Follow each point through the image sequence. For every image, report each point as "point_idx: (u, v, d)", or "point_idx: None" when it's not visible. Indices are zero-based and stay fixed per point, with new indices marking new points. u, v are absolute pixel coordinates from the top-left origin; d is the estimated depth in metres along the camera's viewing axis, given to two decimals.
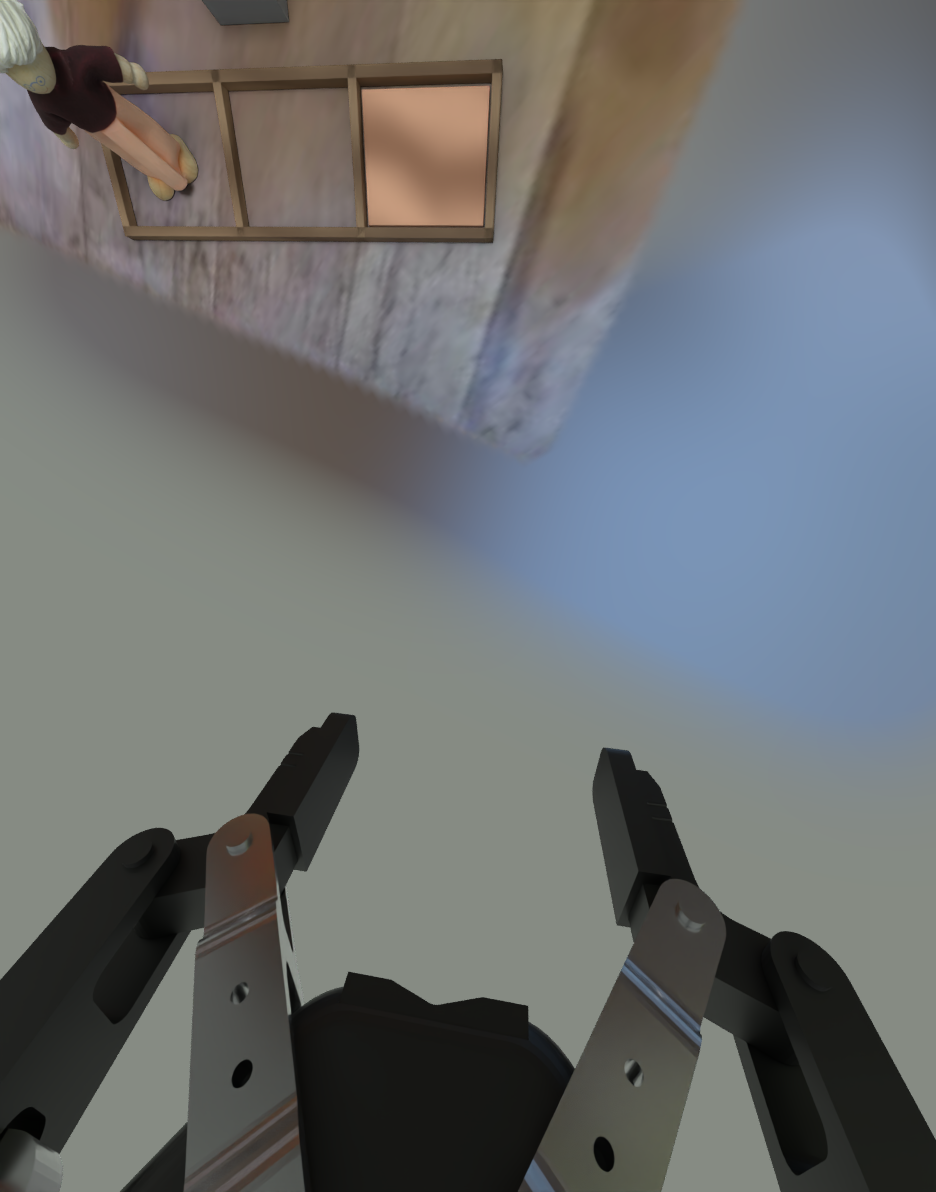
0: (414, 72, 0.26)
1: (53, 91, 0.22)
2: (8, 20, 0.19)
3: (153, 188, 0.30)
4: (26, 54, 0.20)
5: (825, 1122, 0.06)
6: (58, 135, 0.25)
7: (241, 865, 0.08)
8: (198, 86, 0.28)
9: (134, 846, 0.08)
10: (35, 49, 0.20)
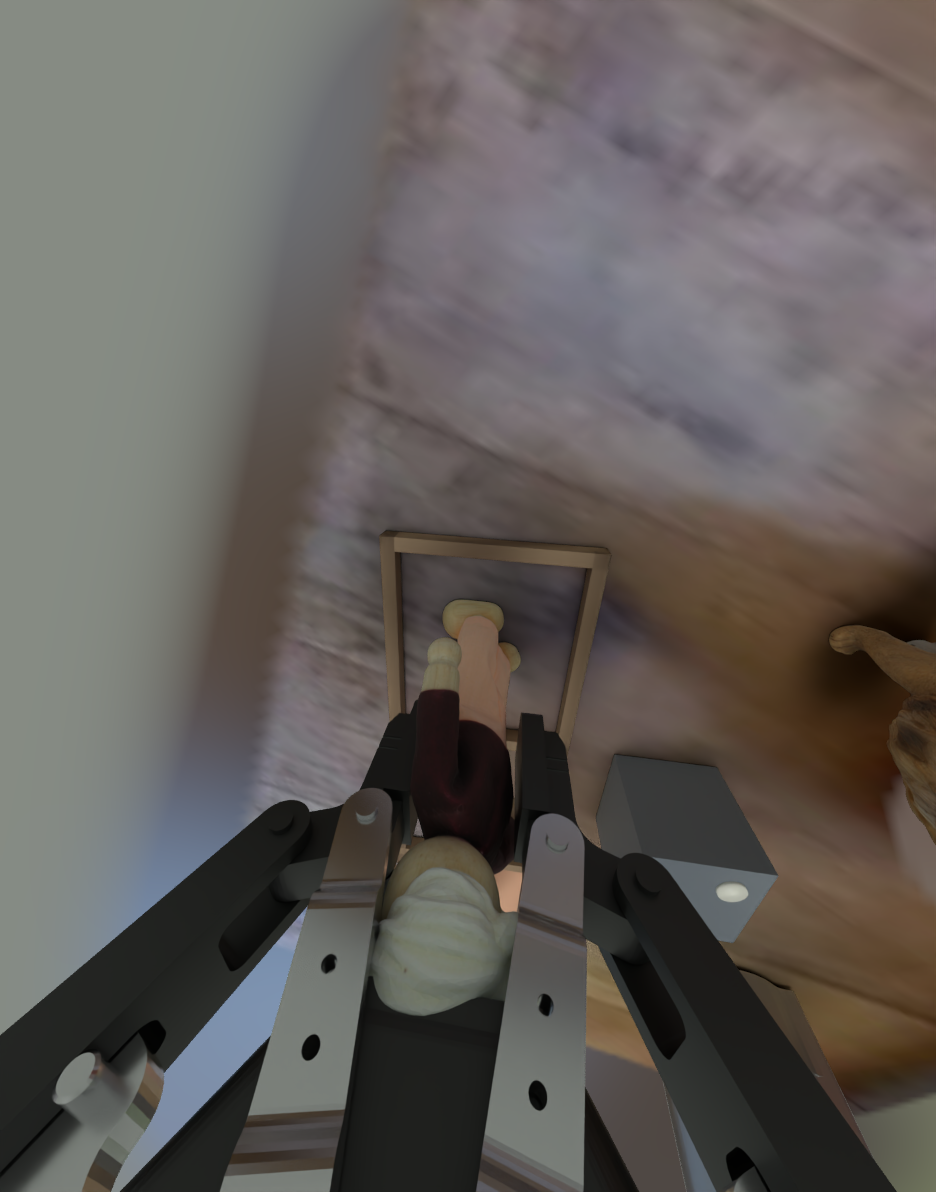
0: None
1: (426, 838, 0.10)
2: None
3: (450, 619, 0.16)
4: None
5: (679, 1008, 0.07)
6: (422, 686, 0.11)
7: (362, 836, 0.09)
8: (560, 722, 0.18)
9: (280, 813, 0.09)
10: None
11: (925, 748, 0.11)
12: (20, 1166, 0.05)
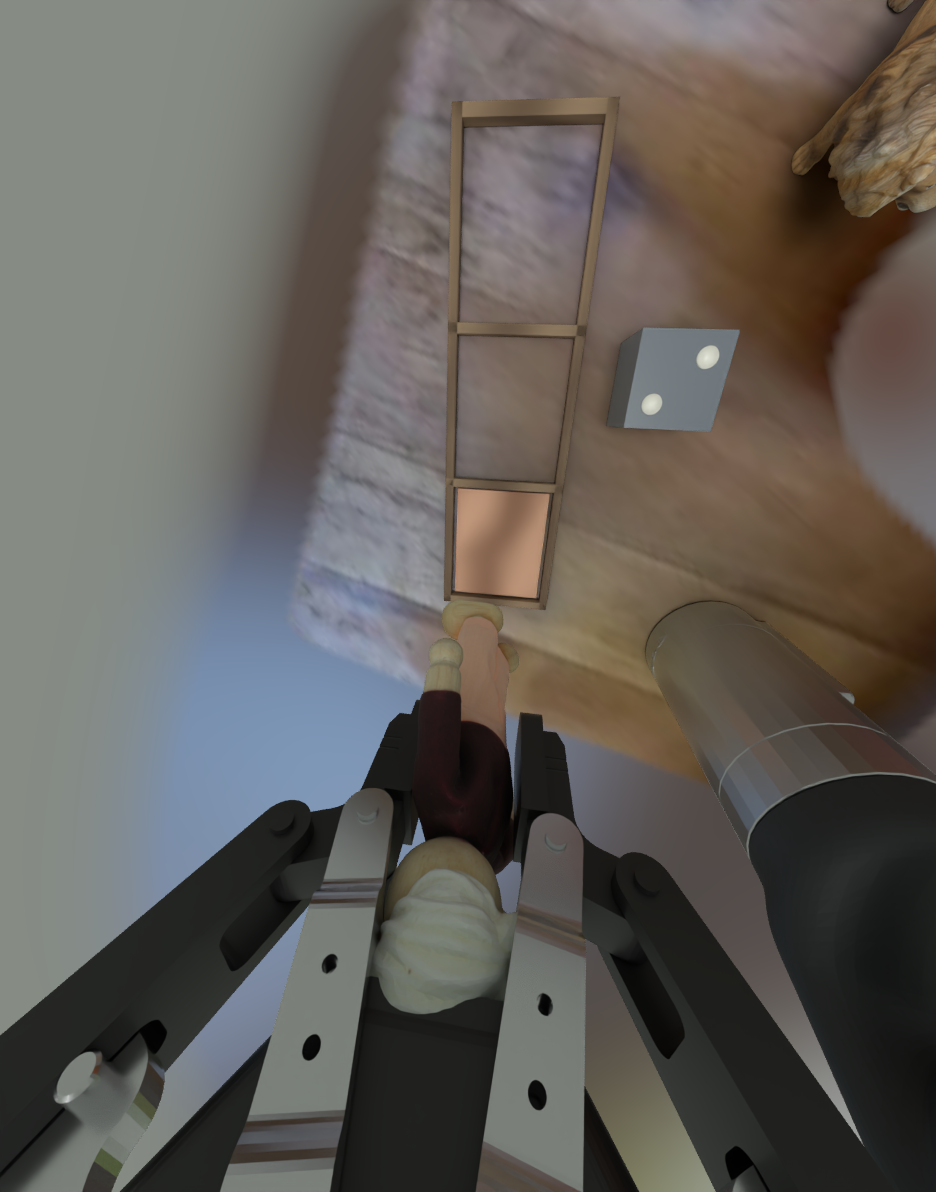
0: (549, 545, 0.31)
1: (427, 839, 0.10)
2: None
3: (449, 619, 0.16)
4: None
5: (678, 1008, 0.07)
6: None
7: (362, 836, 0.09)
8: (580, 300, 0.24)
9: (281, 813, 0.09)
10: None
11: (847, 121, 0.17)
12: (21, 1165, 0.05)
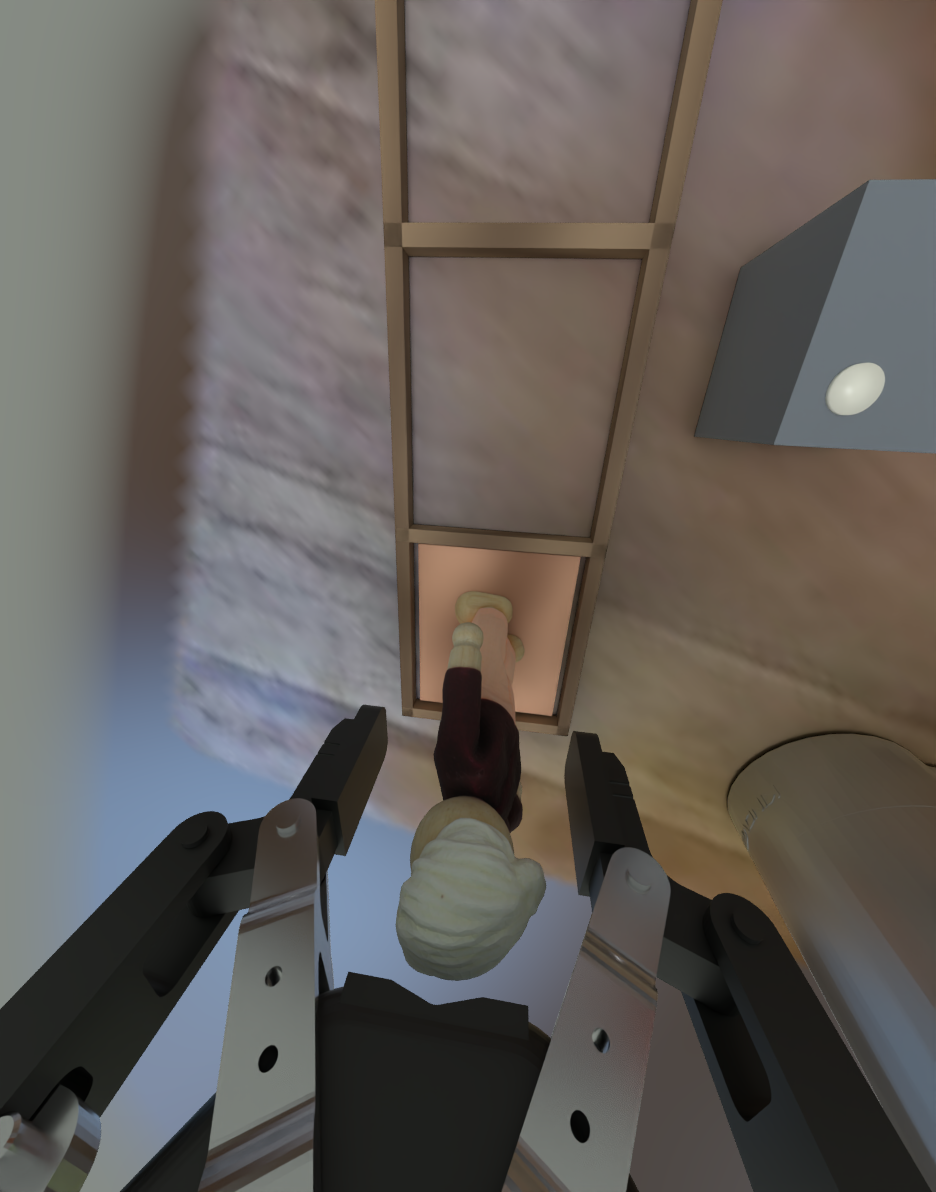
0: (577, 641, 0.18)
1: (446, 799, 0.11)
2: None
3: (463, 608, 0.17)
4: None
5: (767, 1068, 0.06)
6: (448, 664, 0.12)
7: (287, 848, 0.08)
8: (663, 167, 0.11)
9: (192, 827, 0.08)
10: None
11: None
12: None
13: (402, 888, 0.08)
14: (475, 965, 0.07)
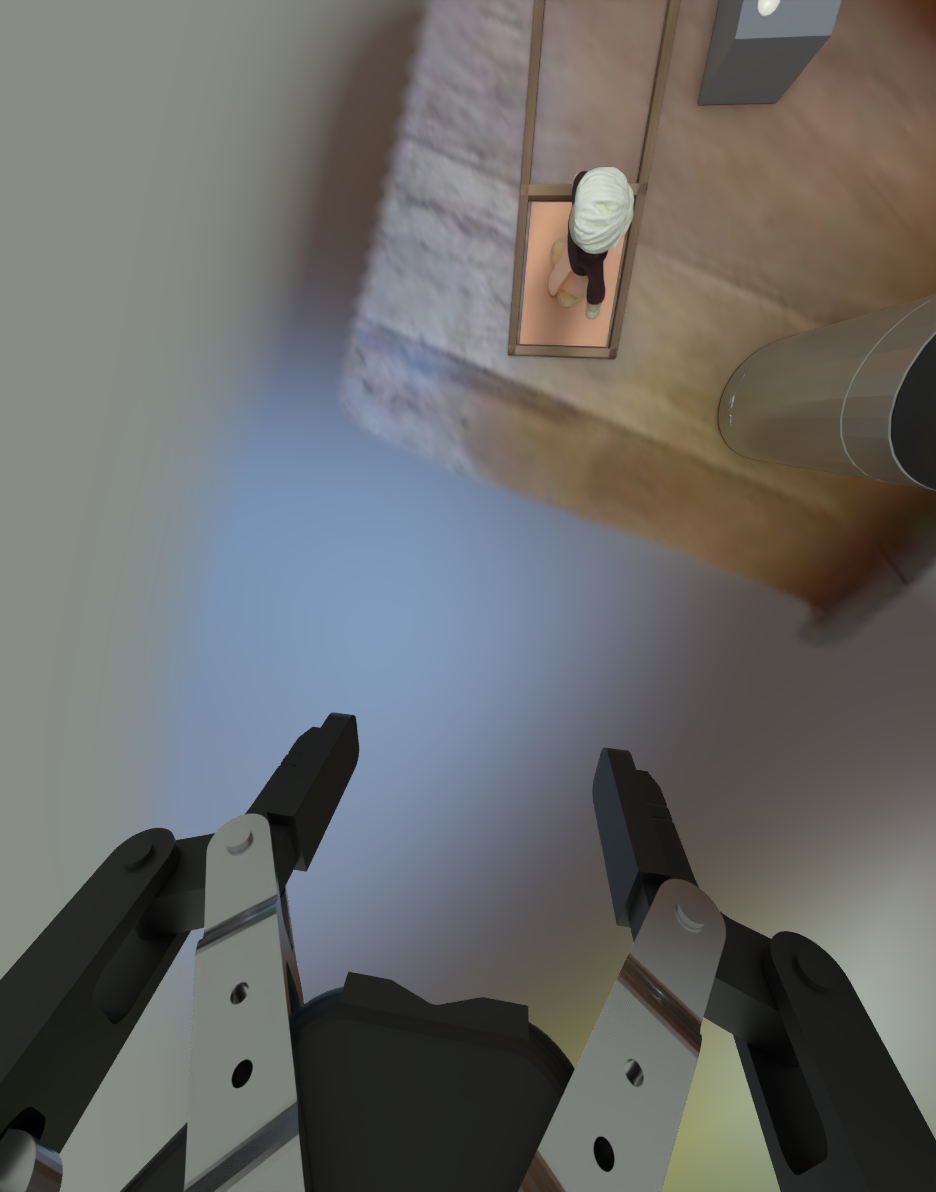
0: (626, 267, 0.29)
1: None
2: (596, 239, 0.20)
3: (557, 244, 0.29)
4: (577, 241, 0.21)
5: (825, 1122, 0.06)
6: (573, 182, 0.23)
7: (241, 865, 0.08)
8: None
9: (133, 846, 0.08)
10: (584, 248, 0.21)
11: None
12: None
13: (578, 185, 0.20)
14: (612, 192, 0.19)
